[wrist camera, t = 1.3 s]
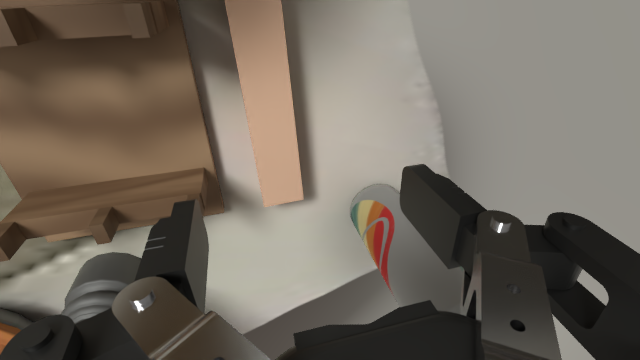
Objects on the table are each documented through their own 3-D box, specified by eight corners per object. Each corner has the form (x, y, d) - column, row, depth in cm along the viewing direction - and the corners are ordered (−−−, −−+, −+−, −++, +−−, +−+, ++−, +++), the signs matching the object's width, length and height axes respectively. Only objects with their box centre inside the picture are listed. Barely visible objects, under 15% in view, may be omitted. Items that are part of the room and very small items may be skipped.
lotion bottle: (338, 218, 34) (448, 437, 17) (368, 174, 32) (524, 371, 15) (378, 233, 37) (508, 436, 20) (408, 193, 35) (579, 380, 18)
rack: (-119, -60, 17) (-298, -86, 11) (163, -62, 20) (137, -84, 14) (53, 234, 27) (6, 301, 21) (224, 206, 30) (223, 258, 24)
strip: (216, -41, 21) (215, -45, 19) (269, -44, 22) (275, -49, 19) (261, 189, 31) (264, 207, 28) (297, 182, 31) (303, 199, 29)
